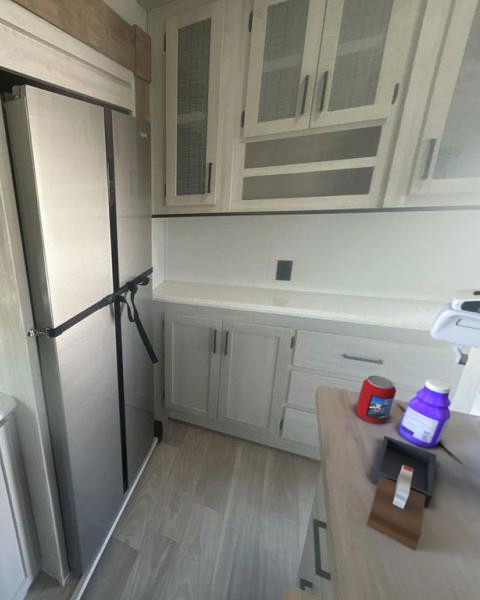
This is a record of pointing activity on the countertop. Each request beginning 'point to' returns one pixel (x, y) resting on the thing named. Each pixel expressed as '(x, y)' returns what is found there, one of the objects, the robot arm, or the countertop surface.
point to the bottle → (427, 414)
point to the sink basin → (405, 454)
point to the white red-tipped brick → (403, 486)
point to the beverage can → (376, 399)
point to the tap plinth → (397, 514)
